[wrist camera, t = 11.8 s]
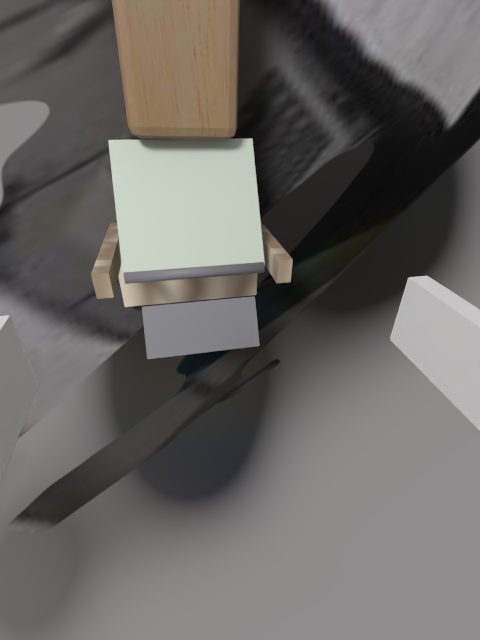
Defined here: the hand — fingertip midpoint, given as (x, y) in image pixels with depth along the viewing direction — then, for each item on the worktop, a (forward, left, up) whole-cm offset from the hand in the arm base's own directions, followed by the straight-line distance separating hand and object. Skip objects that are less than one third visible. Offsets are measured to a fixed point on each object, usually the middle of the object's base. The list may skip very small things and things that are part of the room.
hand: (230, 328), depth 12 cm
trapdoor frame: (0, -12, -36) cm, 38 cm away
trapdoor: (0, -7, -26) cm, 27 cm away
